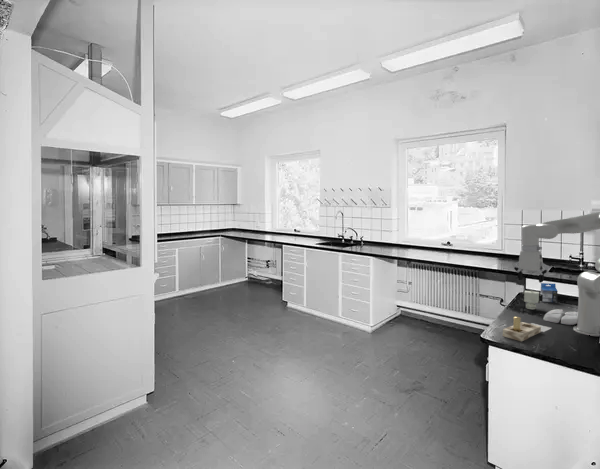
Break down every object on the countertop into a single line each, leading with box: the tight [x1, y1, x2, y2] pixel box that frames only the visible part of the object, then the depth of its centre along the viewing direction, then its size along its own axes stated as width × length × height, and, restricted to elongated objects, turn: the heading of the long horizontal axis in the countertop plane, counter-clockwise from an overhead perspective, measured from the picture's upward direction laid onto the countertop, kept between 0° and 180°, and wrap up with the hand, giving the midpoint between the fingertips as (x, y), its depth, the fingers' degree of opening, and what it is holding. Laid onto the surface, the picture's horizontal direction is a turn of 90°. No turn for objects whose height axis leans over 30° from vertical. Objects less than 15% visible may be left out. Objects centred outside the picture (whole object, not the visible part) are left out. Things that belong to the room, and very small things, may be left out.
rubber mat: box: [530, 322, 552, 333], centre depth 192 cm, size 10×10×1 cm
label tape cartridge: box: [540, 282, 558, 304], centre depth 243 cm, size 9×4×12 cm, turn 73°
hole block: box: [502, 321, 542, 342], centre depth 183 cm, size 9×20×4 cm, turn 123°
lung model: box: [543, 308, 578, 326], centre depth 207 cm, size 7×17×25 cm
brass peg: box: [512, 316, 522, 332], centre depth 180 cm, size 3×3×10 cm
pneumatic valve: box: [519, 290, 543, 311], centre depth 227 cm, size 6×12×12 cm, turn 56°
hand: (530, 280), depth 188 cm, fingers open, 9 cm apart
